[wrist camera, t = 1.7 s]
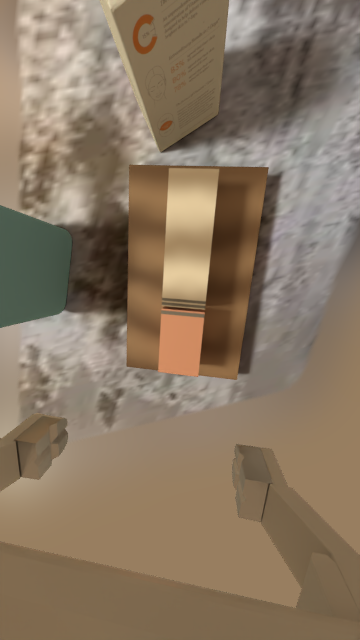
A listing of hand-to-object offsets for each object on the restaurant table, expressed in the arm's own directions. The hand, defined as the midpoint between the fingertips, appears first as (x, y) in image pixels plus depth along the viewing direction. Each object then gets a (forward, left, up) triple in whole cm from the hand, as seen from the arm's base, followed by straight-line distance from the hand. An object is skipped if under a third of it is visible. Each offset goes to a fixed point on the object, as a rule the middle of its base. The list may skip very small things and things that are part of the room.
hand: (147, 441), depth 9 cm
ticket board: (-7, 0, -20) cm, 21 cm away
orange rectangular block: (0, 0, -18) cm, 18 cm away
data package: (-7, -20, -20) cm, 29 cm away
